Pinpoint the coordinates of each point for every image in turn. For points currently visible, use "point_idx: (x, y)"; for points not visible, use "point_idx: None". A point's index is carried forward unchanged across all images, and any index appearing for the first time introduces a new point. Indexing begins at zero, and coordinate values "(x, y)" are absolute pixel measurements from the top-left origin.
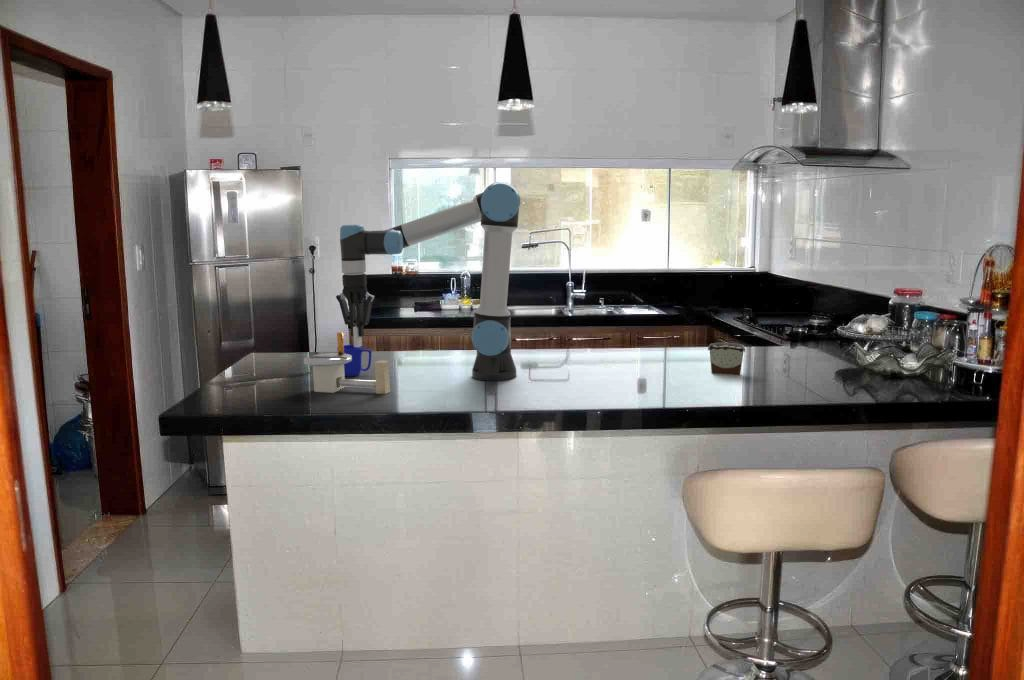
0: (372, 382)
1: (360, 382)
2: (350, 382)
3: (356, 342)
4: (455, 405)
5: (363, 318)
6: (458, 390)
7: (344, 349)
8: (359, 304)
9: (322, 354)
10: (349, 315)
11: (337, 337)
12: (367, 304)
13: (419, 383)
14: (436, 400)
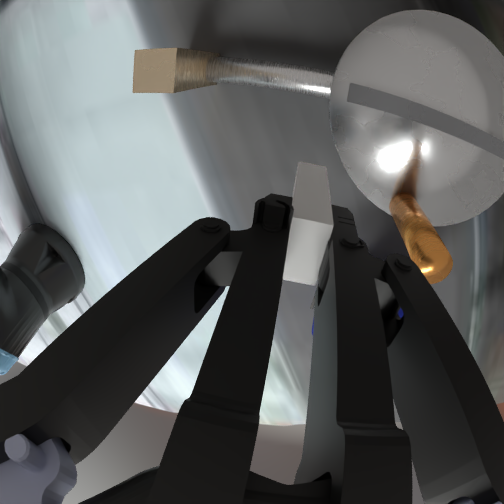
0: (225, 60)
1: (275, 64)
2: (318, 70)
3: (307, 172)
4: (21, 27)
5: (193, 256)
6: (46, 138)
7: (402, 316)
8: (182, 426)
9: (476, 199)
10: (378, 313)
11: (441, 240)
12: (44, 371)
13: (146, 191)
14: (54, 41)
